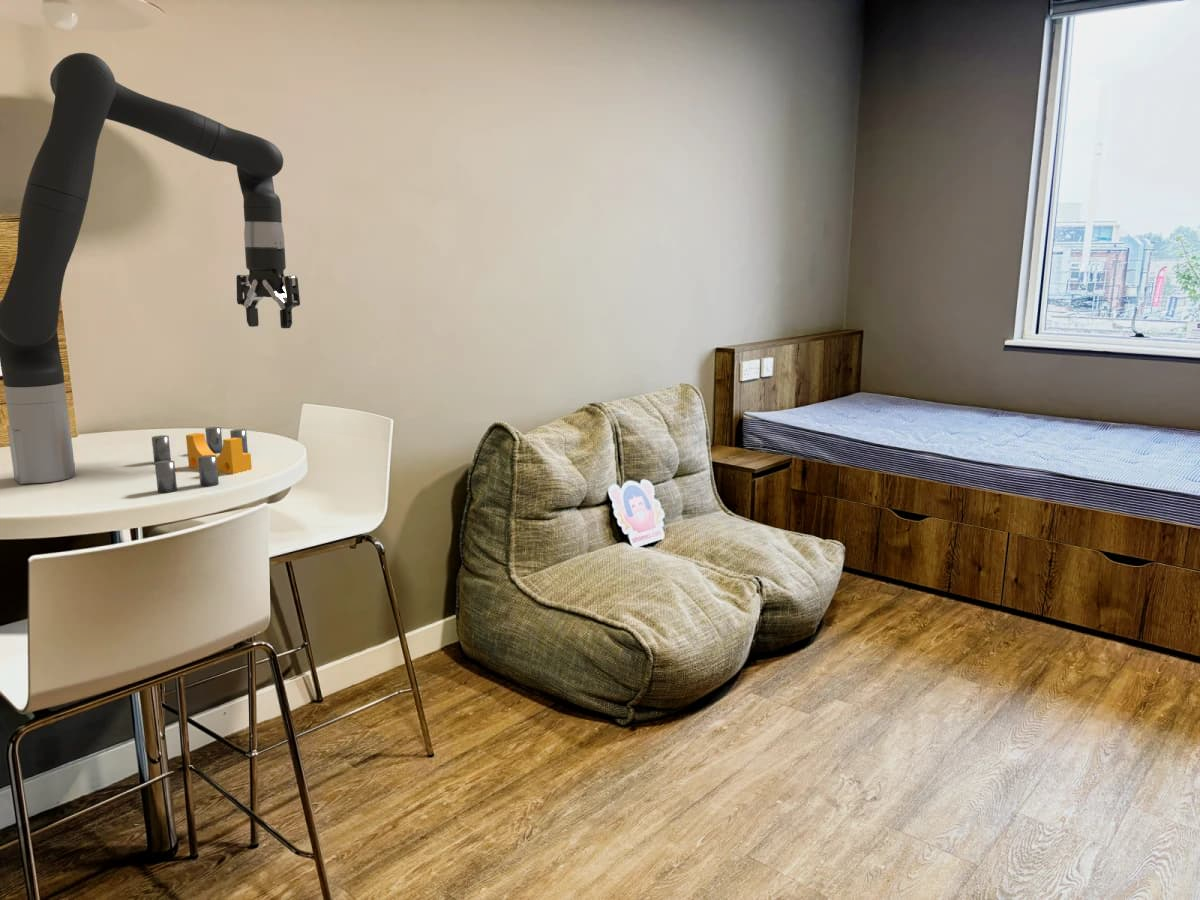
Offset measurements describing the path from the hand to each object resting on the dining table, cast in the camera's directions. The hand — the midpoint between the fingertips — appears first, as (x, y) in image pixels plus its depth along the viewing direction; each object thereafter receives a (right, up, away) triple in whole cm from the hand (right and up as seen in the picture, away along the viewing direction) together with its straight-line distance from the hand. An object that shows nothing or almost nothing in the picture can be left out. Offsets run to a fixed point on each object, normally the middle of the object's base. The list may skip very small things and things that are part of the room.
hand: (269, 327), depth 184 cm
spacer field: (-9, -29, -12) cm, 32 cm away
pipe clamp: (-5, -29, -12) cm, 32 cm away
